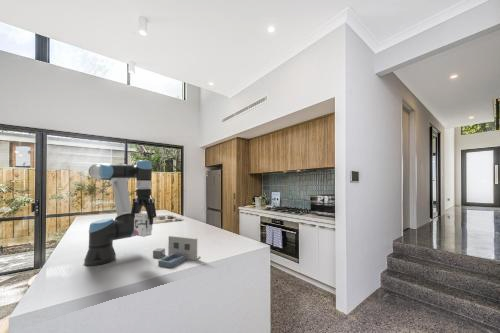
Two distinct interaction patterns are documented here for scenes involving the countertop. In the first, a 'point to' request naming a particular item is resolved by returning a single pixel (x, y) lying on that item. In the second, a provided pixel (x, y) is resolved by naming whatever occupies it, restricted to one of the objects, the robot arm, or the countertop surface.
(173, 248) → the plate
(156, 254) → the brick
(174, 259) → the dock
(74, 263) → the countertop surface
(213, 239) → the countertop surface
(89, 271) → the countertop surface
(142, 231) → the ink box
